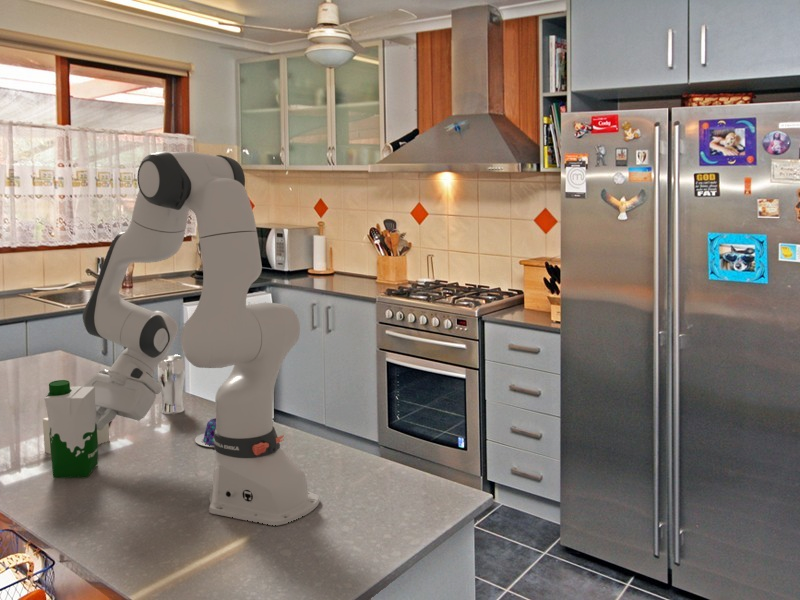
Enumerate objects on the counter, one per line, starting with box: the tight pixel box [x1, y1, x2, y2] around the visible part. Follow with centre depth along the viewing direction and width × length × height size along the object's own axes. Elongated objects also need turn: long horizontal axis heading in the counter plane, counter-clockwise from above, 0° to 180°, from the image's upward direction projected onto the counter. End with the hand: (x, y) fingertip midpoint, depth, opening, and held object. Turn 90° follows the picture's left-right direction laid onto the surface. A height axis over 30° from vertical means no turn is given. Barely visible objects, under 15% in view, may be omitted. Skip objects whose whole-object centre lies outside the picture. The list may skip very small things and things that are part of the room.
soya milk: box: [44, 379, 99, 479], centre depth 159 cm, size 9×9×20 cm
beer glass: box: [157, 354, 186, 415], centre depth 202 cm, size 7×7×15 cm
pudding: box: [194, 417, 216, 448], centre depth 182 cm, size 12×12×5 cm
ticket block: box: [42, 414, 110, 455], centre depth 175 cm, size 6×13×8 cm, turn 149°
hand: (94, 428), depth 164 cm, fingers closed
